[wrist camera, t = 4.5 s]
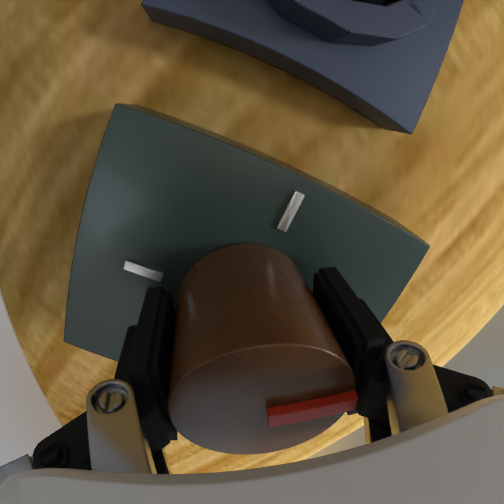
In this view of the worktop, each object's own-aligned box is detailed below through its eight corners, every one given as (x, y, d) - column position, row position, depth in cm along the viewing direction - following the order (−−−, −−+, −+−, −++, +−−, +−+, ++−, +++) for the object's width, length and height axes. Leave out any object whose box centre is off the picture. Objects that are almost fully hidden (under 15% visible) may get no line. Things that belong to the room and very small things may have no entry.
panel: (82, 304, 14) (62, 344, 11) (136, 104, 11) (113, 102, 8) (303, 366, 18) (317, 406, 15) (396, 220, 14) (433, 247, 12)
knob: (189, 355, 12) (189, 468, 8) (167, 250, 10) (141, 366, 5) (303, 341, 13) (343, 445, 8) (307, 236, 11) (378, 335, 6)
